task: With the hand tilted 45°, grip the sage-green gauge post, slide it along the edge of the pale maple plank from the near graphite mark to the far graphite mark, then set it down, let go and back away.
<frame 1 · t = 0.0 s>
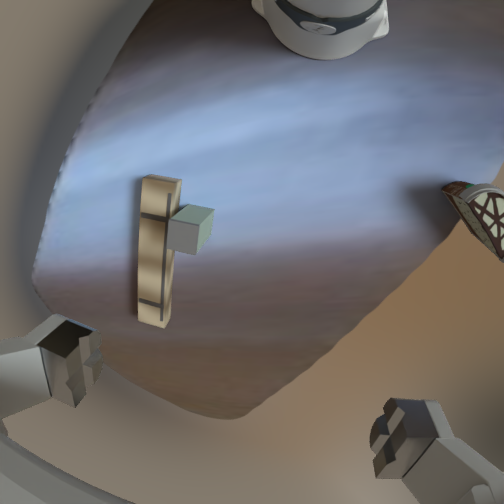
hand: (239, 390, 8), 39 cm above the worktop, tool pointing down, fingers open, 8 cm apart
gauge post: (199, 219, 48), on the worktop
food container: (469, 199, 41), on the worktop
maple plank: (159, 252, 51), on the worktop
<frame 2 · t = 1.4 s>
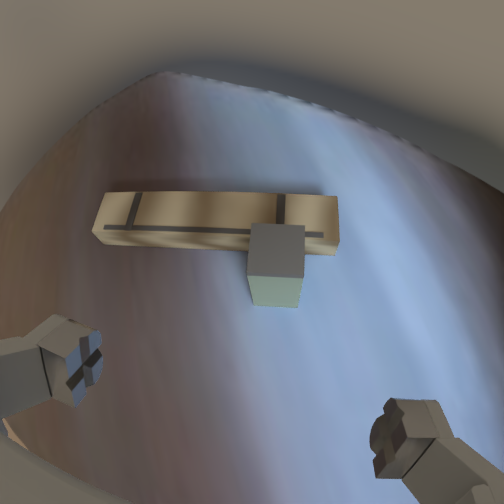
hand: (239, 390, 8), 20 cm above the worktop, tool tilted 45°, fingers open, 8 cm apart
gauge post: (277, 286, 31), on the worktop
maple plank: (212, 228, 34), on the worktop
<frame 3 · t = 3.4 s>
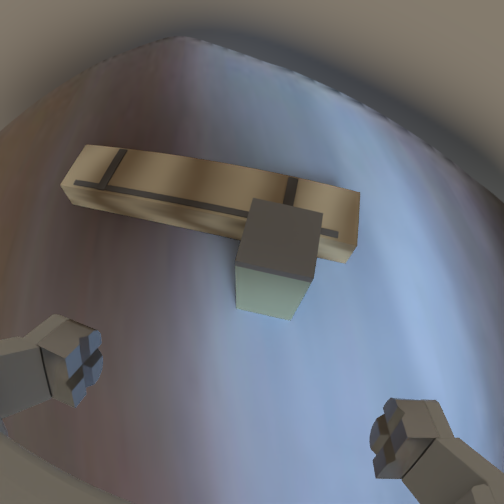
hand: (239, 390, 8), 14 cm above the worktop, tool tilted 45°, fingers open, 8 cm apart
gauge post: (269, 289, 24), on the worktop
maple plank: (202, 205, 27), on the worktop
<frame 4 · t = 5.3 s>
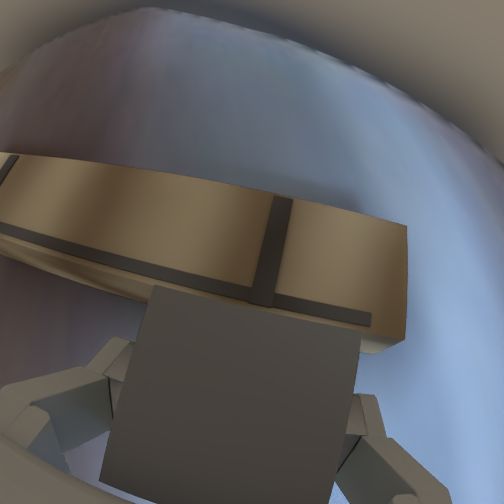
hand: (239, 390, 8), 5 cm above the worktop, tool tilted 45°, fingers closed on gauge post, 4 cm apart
gauge post: (234, 410, 12), on the worktop, touching gripper
maple plank: (125, 245, 15), on the worktop
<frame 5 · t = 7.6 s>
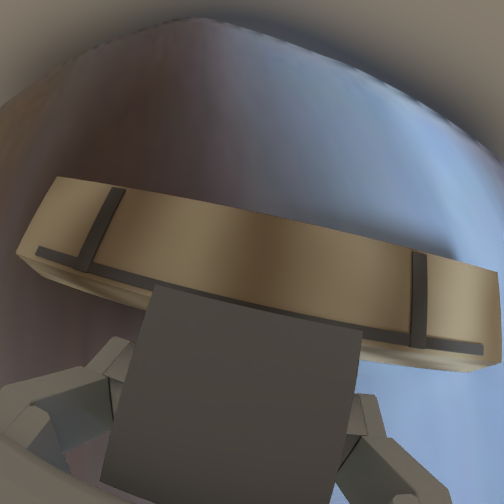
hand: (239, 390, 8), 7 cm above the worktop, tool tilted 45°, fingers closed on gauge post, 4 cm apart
gauge post: (235, 410, 12), point 2 cm above the worktop, touching gripper
maple plank: (262, 291, 16), on the worktop
when the fingers open (5 cm above the worktop, at t = 9.8 s): gauge post stays where it is, on the worktop.
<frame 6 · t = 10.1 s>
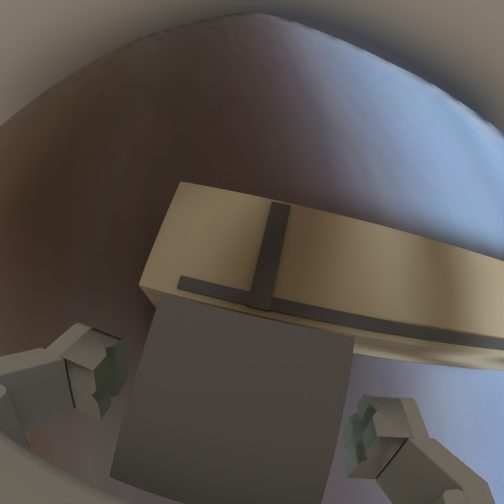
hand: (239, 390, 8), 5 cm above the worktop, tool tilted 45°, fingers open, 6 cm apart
gauge post: (235, 409, 13), on the worktop
maple plank: (417, 314, 15), on the worktop
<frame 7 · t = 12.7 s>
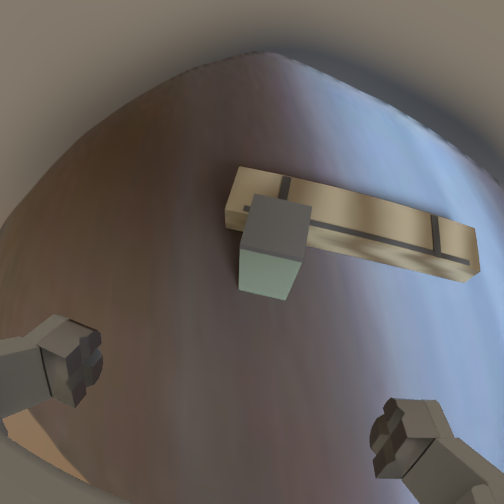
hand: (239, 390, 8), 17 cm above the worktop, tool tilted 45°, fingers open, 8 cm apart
gauge post: (266, 273, 28), on the worktop
maple plank: (359, 234, 30), on the worktop
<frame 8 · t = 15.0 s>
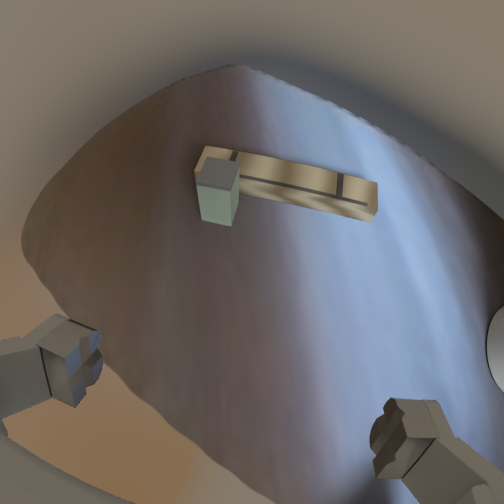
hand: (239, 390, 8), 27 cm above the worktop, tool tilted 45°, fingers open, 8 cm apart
gauge post: (220, 210, 43), on the worktop
maple plank: (286, 188, 45), on the worktop
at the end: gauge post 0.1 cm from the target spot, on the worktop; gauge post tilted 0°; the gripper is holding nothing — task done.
